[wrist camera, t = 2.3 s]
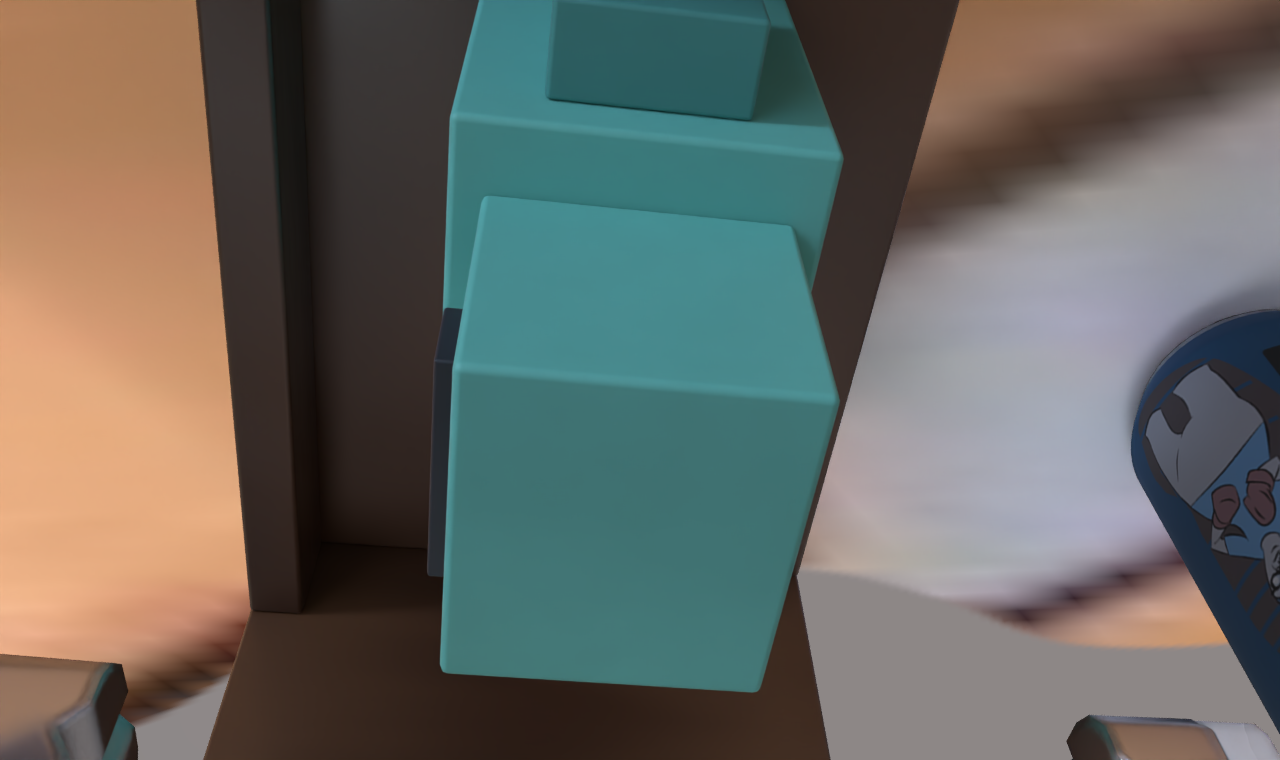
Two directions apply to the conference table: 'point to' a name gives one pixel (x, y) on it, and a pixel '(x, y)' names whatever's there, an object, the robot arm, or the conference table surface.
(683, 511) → the toy robot
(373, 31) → the shelf
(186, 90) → the conference table surface
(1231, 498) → the soda can
